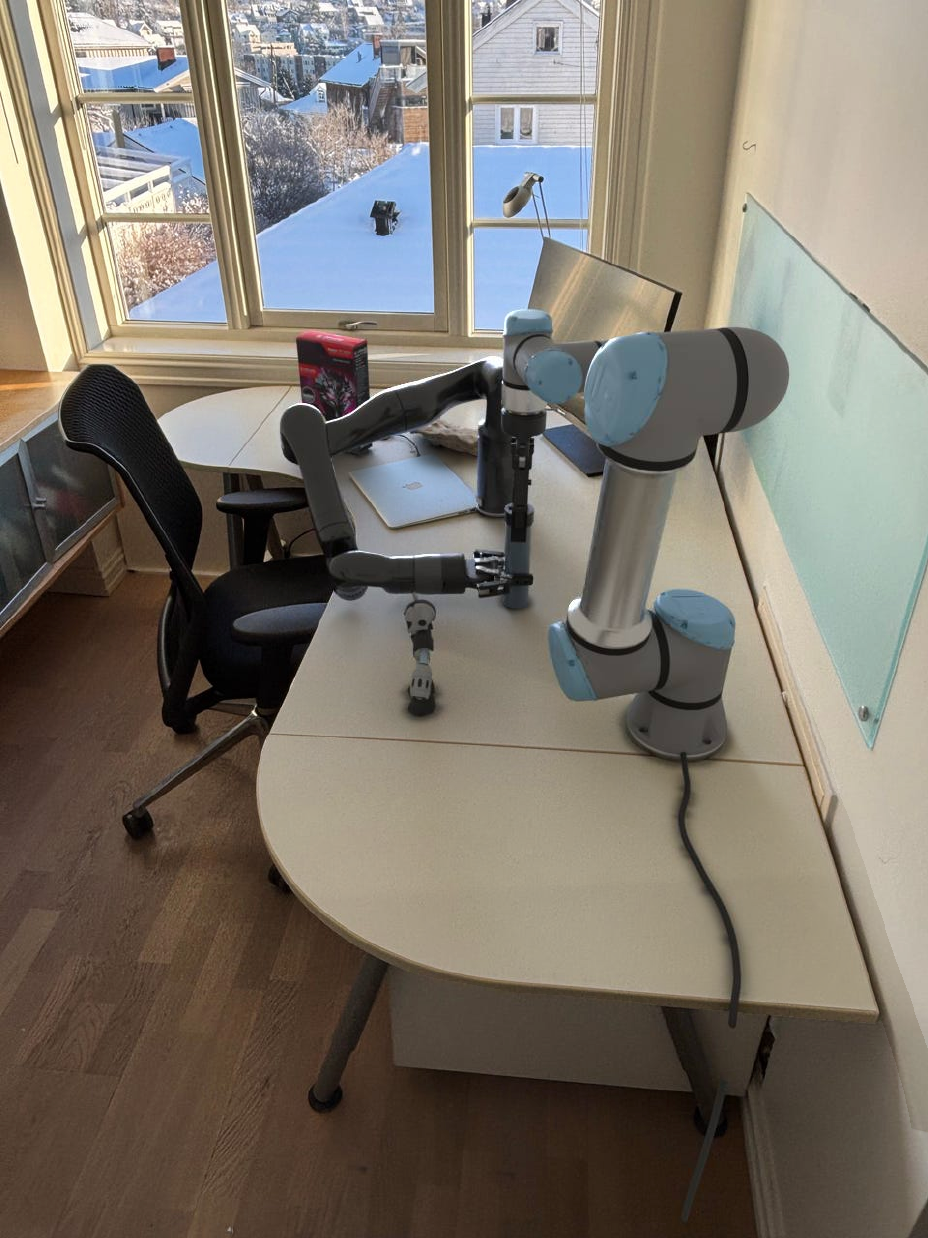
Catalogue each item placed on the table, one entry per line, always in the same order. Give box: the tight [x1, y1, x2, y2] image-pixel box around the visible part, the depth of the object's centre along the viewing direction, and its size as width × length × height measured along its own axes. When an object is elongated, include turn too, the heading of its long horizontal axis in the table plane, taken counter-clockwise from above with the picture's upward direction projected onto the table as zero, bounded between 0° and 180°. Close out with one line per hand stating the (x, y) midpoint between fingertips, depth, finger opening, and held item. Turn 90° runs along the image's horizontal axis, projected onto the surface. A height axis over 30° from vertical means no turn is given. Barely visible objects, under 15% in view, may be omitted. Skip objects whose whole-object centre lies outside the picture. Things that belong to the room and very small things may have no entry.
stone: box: [409, 416, 478, 457], centre depth 232 cm, size 21×15×6 cm
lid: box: [503, 503, 535, 526], centre depth 163 cm, size 5×5×2 cm
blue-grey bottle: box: [502, 522, 533, 610], centre depth 168 cm, size 5×5×19 cm
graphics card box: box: [295, 329, 374, 455], centre depth 226 cm, size 17×7×27 cm, turn 62°
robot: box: [403, 589, 437, 717], centre depth 143 cm, size 20×5×20 cm, turn 3°
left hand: (530, 571), depth 170 cm, fingers closed on blue-grey bottle, 4 cm apart
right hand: (518, 529), depth 165 cm, fingers open, 7 cm apart
